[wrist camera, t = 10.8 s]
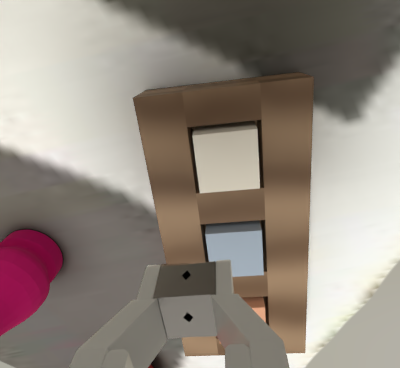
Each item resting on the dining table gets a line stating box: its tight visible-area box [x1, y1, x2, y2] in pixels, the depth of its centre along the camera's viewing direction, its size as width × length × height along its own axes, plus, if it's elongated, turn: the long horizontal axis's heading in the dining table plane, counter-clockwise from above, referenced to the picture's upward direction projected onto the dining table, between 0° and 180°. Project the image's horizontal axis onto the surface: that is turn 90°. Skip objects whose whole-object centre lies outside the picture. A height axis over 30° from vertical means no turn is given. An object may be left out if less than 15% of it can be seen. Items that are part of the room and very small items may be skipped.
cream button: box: [192, 120, 260, 193], centre depth 23 cm, size 4×4×4 cm
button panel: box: [133, 72, 314, 356], centre depth 27 cm, size 26×12×4 cm, turn 7°
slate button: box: [205, 220, 264, 277], centre depth 26 cm, size 4×4×4 cm
